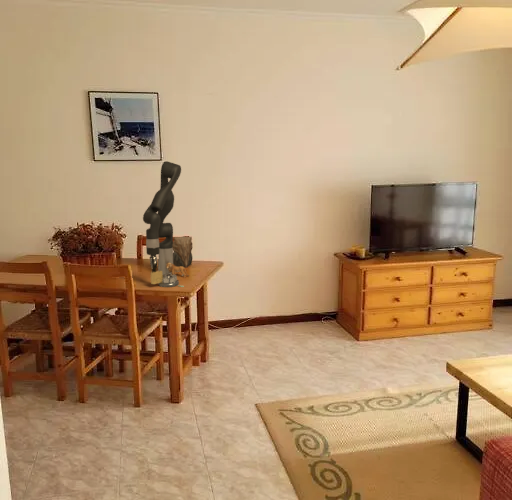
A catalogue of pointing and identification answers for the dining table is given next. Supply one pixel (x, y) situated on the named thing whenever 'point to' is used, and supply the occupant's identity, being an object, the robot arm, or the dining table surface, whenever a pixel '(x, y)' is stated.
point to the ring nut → (162, 277)
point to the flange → (169, 283)
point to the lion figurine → (175, 269)
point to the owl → (182, 251)
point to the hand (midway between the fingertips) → (154, 274)
